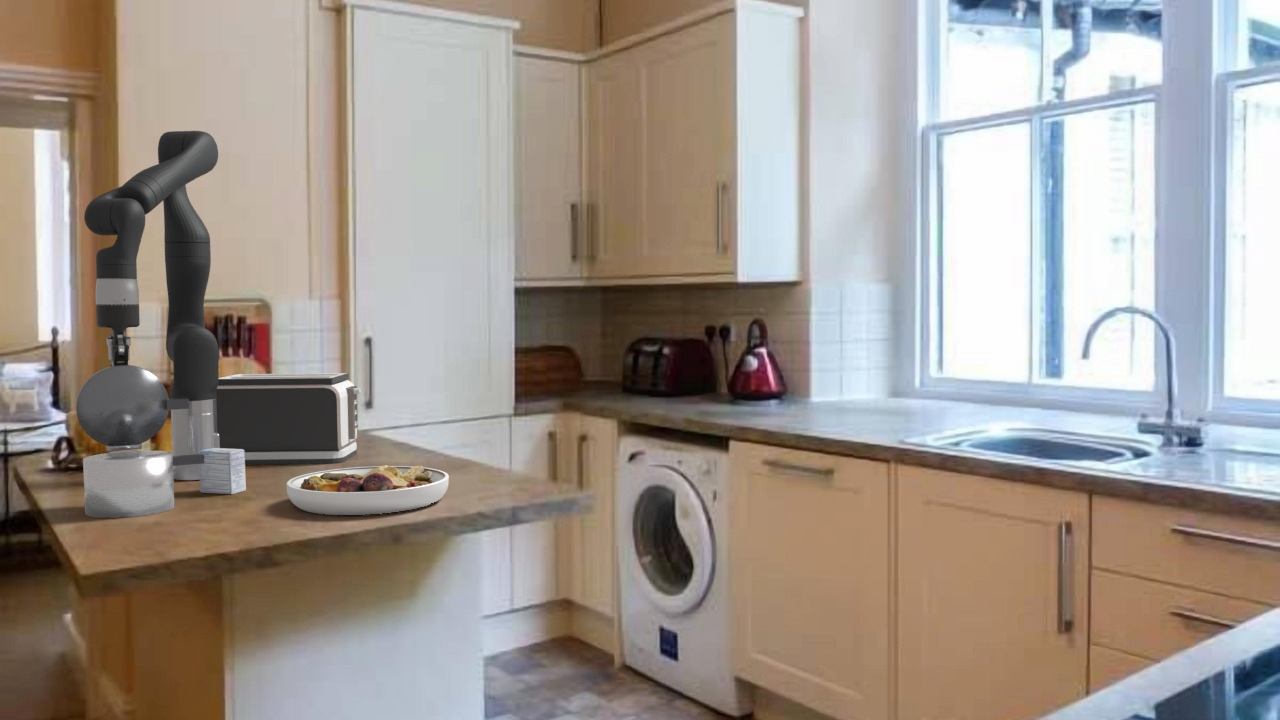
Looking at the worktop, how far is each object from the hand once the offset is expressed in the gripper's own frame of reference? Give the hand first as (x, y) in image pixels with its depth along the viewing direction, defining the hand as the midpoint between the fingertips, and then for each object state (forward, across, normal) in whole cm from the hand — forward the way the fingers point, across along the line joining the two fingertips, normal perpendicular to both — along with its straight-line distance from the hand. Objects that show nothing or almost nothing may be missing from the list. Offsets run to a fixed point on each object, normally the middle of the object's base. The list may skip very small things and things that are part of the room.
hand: (120, 392), depth 207 cm
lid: (+3, -5, -2) cm, 6 cm away
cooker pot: (+21, -10, -3) cm, 24 cm away
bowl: (+22, -28, -40) cm, 54 cm away
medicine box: (+21, -1, -18) cm, 28 cm away
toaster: (+21, +39, -40) cm, 60 cm away
